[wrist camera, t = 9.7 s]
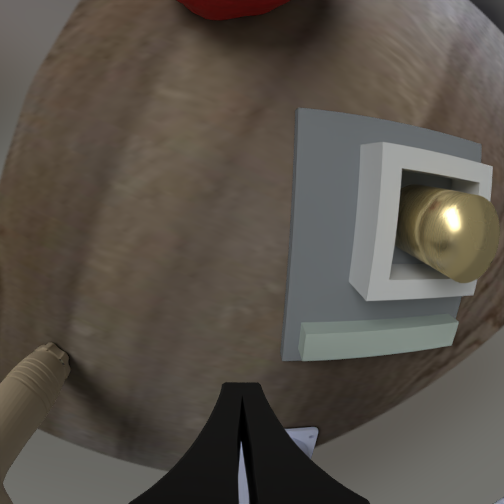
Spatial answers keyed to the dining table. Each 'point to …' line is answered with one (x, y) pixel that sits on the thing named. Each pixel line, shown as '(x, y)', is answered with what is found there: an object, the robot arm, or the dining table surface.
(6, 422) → the handle
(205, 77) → the dining table surface
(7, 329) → the dining table surface
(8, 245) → the dining table surface
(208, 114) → the dining table surface
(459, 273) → the brass cylinder
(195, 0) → the red tomato
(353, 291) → the jig
